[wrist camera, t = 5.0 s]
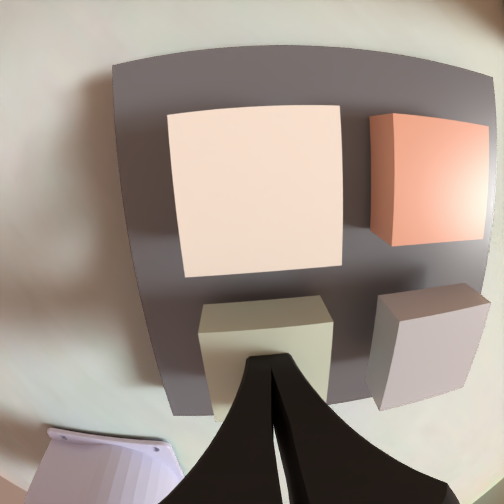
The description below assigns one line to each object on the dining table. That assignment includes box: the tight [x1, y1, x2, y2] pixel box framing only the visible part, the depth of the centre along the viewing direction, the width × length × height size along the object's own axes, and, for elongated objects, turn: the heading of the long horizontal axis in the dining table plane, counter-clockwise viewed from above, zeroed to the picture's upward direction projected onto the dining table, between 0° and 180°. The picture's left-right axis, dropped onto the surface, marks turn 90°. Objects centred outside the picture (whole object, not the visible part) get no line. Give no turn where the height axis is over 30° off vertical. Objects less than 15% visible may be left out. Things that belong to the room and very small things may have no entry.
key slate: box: [365, 282, 491, 411], centre depth 10 cm, size 4×4×2 cm
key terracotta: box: [369, 113, 489, 246], centre depth 9 cm, size 4×4×2 cm
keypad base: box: [112, 45, 497, 416], centre depth 12 cm, size 15×15×2 cm
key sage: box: [198, 295, 333, 422], centre depth 11 cm, size 4×4×2 cm
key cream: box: [167, 105, 343, 277], centre depth 8 cm, size 4×4×2 cm
